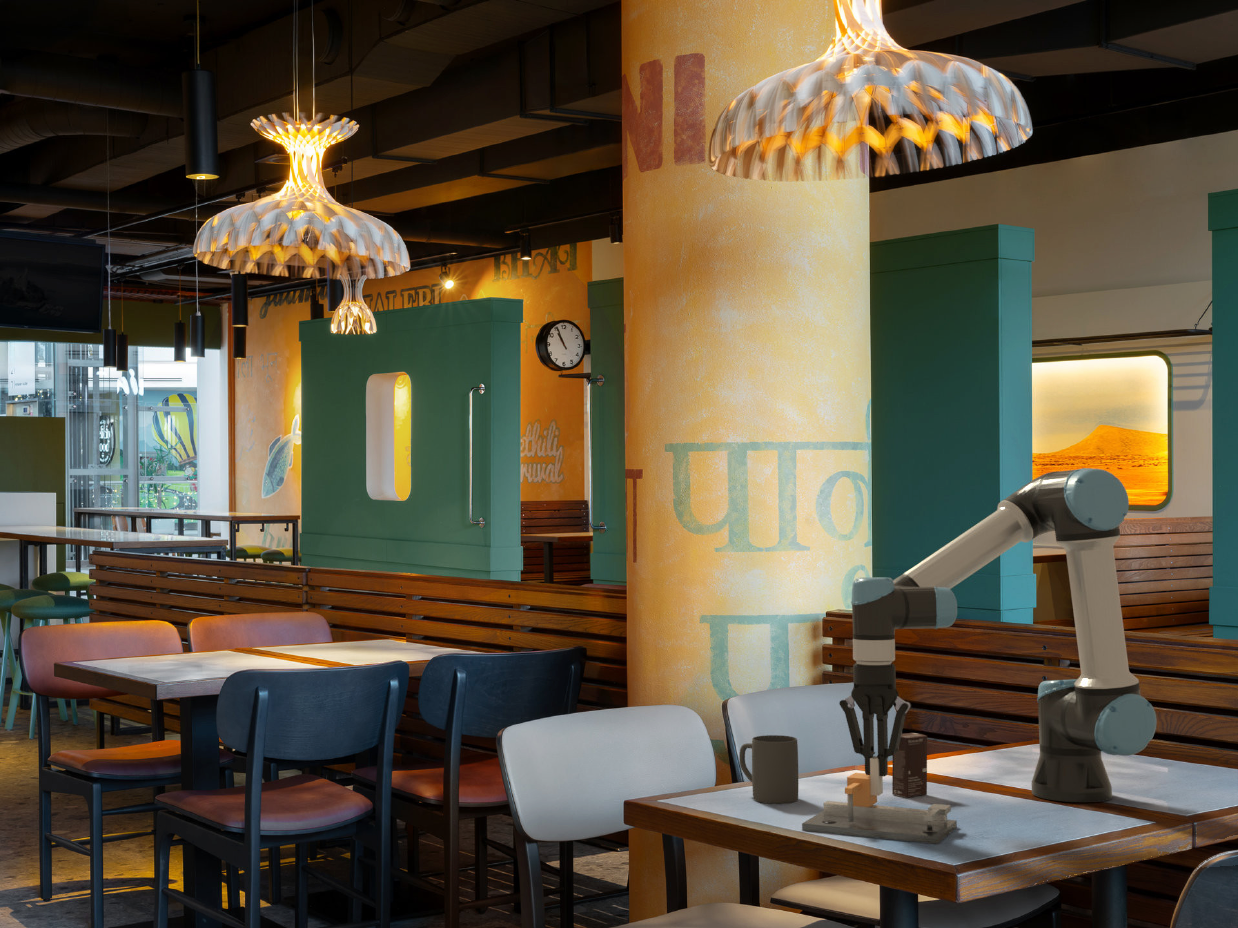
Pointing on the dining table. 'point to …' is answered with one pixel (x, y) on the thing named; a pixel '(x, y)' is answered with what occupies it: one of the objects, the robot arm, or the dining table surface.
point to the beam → (892, 813)
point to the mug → (772, 768)
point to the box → (910, 766)
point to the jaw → (859, 792)
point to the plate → (879, 828)
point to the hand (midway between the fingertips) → (876, 793)
